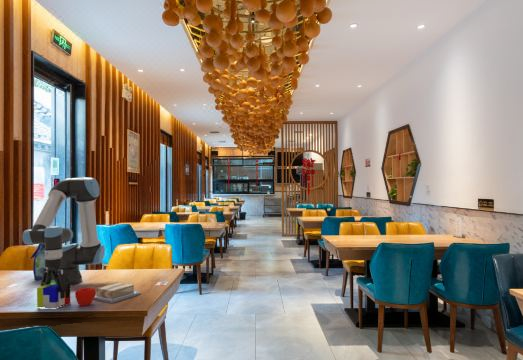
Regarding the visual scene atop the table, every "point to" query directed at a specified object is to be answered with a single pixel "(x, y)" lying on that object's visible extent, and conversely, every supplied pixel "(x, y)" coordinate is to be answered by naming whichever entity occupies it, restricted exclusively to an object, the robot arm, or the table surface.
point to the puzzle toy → (51, 296)
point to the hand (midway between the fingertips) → (54, 303)
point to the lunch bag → (39, 261)
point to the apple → (85, 296)
